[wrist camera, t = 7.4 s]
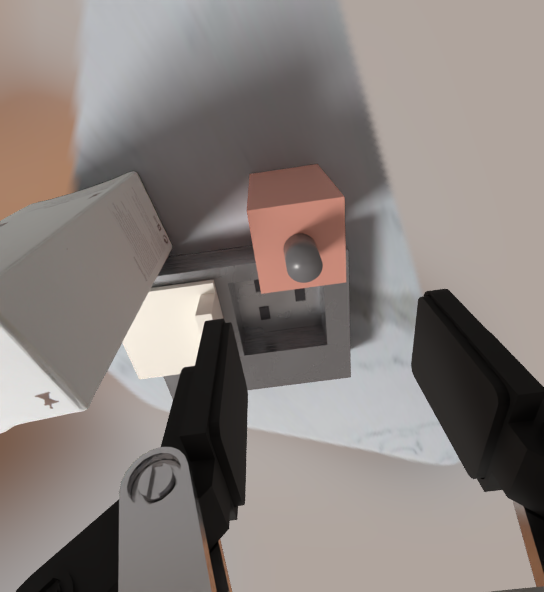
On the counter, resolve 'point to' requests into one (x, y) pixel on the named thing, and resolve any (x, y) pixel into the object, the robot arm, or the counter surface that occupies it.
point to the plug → (296, 228)
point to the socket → (271, 319)
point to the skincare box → (72, 293)
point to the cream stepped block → (171, 328)
